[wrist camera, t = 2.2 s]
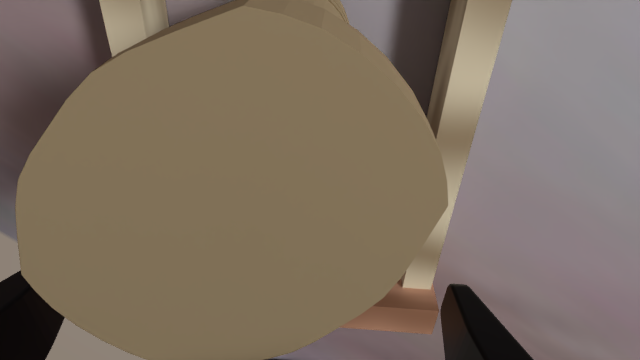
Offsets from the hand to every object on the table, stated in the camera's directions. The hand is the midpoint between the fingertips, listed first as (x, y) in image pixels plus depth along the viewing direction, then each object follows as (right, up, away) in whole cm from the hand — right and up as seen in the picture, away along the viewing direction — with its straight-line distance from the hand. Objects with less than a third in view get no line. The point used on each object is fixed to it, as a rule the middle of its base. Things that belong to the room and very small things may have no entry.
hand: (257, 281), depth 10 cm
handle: (+1, +10, +9) cm, 13 cm away
